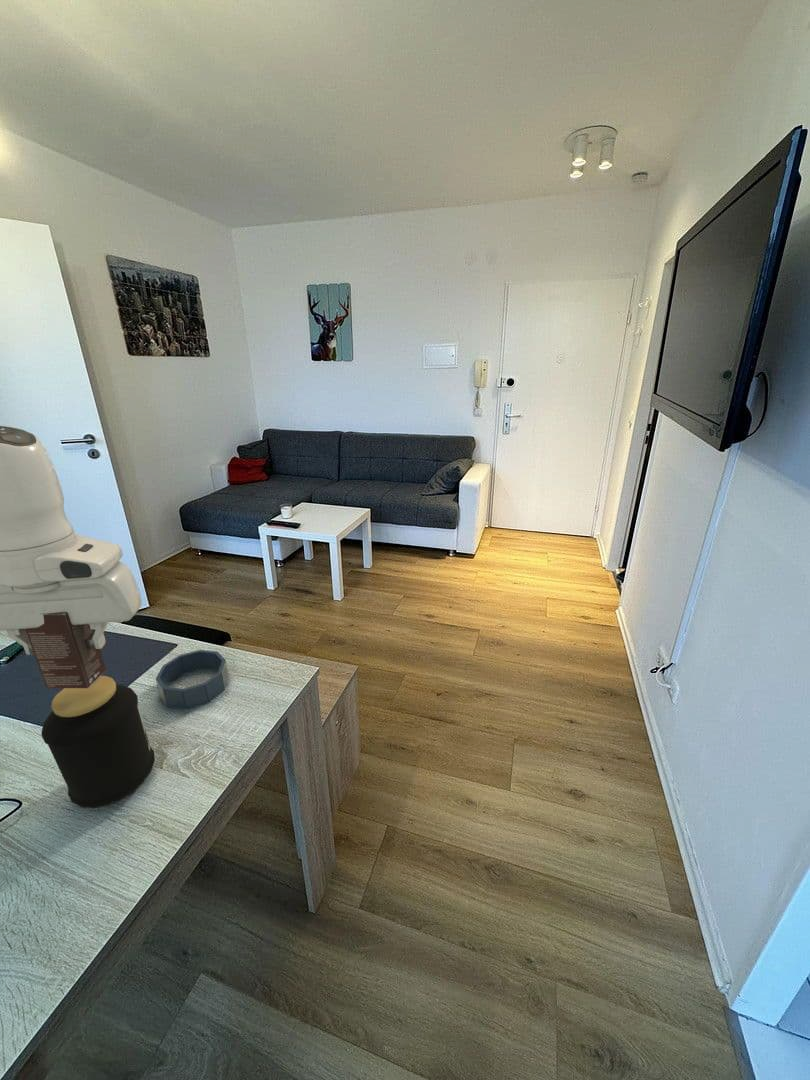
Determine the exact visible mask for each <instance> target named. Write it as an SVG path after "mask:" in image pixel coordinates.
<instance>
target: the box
mask: <svg viewBox="0 0 810 1080" xmlns="http://www.w3.org/2000/svg"><path fill="white" fill-rule="evenodd" d="M40 615H43V617H44V624H43V625H41V626H39V627H36V628H28V629H25V630H26V633H27V636H28V639H29V641H30V644H31V647H32V649H33V652H34V654H33V656H34V658H35V661H36V664H37V666H38V669H39V671H40V675H41V676H42V679H43V682H44V685H45V688H46V689H48V690H50V689H64V688H89V687H91V686H92V685H93V684H94V683H95V682H96V681H97V680H98V679H99V678H100V677H101V676H103V674H105V672H106V671H107V666H106V663H105V660H104V657H103V653H102V649H91V650H89V649H88V645H87V644H86V639H87V638H88V637H90V635H91V633H95V630H96V629H91V628H90V625H89V624H81V625H72V623H71V621H70V618H69V615H68V613H67V612H59V613H46V614H40Z"/></svg>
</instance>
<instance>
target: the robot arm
mask: <svg viewBox="0 0 810 1080" xmlns="http://www.w3.org/2000/svg"><path fill="white" fill-rule="evenodd" d="M52 461H53V460H52V459H51V457H50V454H49V453H48V451H47V450H46V448H45V446H44V445H43V444H42V442H41V440H39V438H38V437H37V436H36V435H35V434H33V433H32V432H28V431H27V430H25V429H21V428H18V427H13V426H6V425H0V631H6V633H7V636H8V637H9V638H11V640H13V641H15V642H16V643H17V644H19V645H20V646H22V647H23V649H24V652H25V655H26V656H30V655H33V656H34V652H33V649H32V647H31V644H30V641H29V639H28V636H27V633H26V630H25V629H28V628H36V627H39V626H41V625H43V624H44V617H43V615H40V614H46V613H59V612H67V613H68V615H69V618H70V621H71V623H72V625H81V624H89V625H90V628H91V629H94V630H95V633H91V635H90V637H88V638H87V639H86V644H87V645H88V649H89V650H91V649H101V650H102V649H103V648H104V646H105V645H106V638H105V634H104V633H105V631H106V628H107V627H108V623H120V622H128V621H130V620H132V619H133V617H134V616H135V615H136V614H137V613H138V611H139V610H140V608H141V606H142V597H141V593H140V589H139V586H138V584H137V581H136V579H135V576H134V574H133V572H132V570H131V569H130V567H129V566H128V565H127V564H126V563H124V562H122V561H120V560H121V559H122V557H123V549H122V546H120V545H119V544H118V543H114V542H110V541H105V540H100V539H96V538H91V537H88V536H84V535H80V534H78V533H77V534H76V533H75V530H74V527H73V525H72V524H71V522H70V521H69V519H68V518H67V516H66V514H65V513H66V512H65V509H64V508H65V507H64V504H65V496H64V493H63V489H62V487H61V483H60V480H59V477H58V475H57V471H56V468H55V466H54V464H53V463H54V462H52Z"/></svg>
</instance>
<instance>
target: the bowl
mask: <svg viewBox="0 0 810 1080" xmlns="http://www.w3.org/2000/svg"><path fill="white" fill-rule="evenodd" d="M226 660H227V659H225V658H224V657H223V655H221V654H220V652H219V651H214V650H207V649H206V650H205V649H198V650H194V651H190V652H186V653H182V654H179V655H177V656H175V657H174V658H173V659H171V660H170V661H168V662H166V663H165V664H163V665H162V666H161V668H160V669H159V672H158V673H157V675H156V677H155V682H156V686H157V690H158V695H159V697H160V699H161V700H162V702H163V703H164V704H165V706H166V707H167V708H173V709H179V710H180V709H181V710H189V709H192V708H196V707H198V706H199V707H200V706H202V705H205V704H206V705H207V704H209V703H210V702H212V701H213V700H214V699H215V698H217V697H218V696H219V695H220V694H222V693H223V692H224V691H225V690H226V688H227V684H228V680H229V677H230V676H229V672H228V666H227V661H226ZM199 670H212V671H213V670H214V671H218V672H216V673H215V674H213V675H212V676H211V677H210V678H208V679H207V680H205V681H204V682H202V683H198V684H195V685H191V686H188V687H185V688H181V687H172V686H170V684H172V683H173V682H175V681H176V680H178V679H179V678H180V677H182V676H183V675H185V674H187V673H192V672H195V671H199Z"/></svg>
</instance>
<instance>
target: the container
mask: <svg viewBox="0 0 810 1080" xmlns="http://www.w3.org/2000/svg"><path fill="white" fill-rule="evenodd" d="M138 699H139V698H138V695H137V693H136V692H135V691H134V690H133V688H131V687H129V686H126V685H123V684H117V683H116V681H115V680H114V679H113V678H112V677H110V676H107V675H101V677H100V678H99V679H98V680H97V681H96V682H95V683H94V684H93V685H92V686H91V687H89V688H62V689H61V690H60V691H59V692H58V693H56V695H55V696H54V697H53V699H52V702H51V710H52V711H51V712H50V713H49V715H48V716H47V717H46V719H45V720H44V722H43V724H42V728H41V738H42V740H43V742H44V743H45V744H46V745H47V746H48V748H49V750H50V753H51V755H52V756H53V759H54V761H55V763H56V765H57V768H58V770H59V771H60V774H61V776H62V778H63V780H64V782H65V784H66V786H67V788H68V789H67V795H68V797H69V799H70V801H71V802H72V803H73V804H75V805H77V806H79V808H86V809H87V808H88V809H96V808H101V807H107V806H110V805H112V804H115V803H117V802H118V801H122V800H123V799H124V798H126V797H127V796H129V795H131V794H132V793H134V792H135V791H136V790H137V789H138V788H139V787H140V786H142V784H143V783H145V781H146V780H147V778H148V777H149V776H150V774H151V773H152V770H153V767H154V765H155V761H156V758H155V757H156V756H155V750H154V749H153V748H152V747H151V745H150V741H149V738H148V734H147V730H146V727H145V724H144V720H143V716H142V713H141V710H140V705H139V700H138Z"/></svg>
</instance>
